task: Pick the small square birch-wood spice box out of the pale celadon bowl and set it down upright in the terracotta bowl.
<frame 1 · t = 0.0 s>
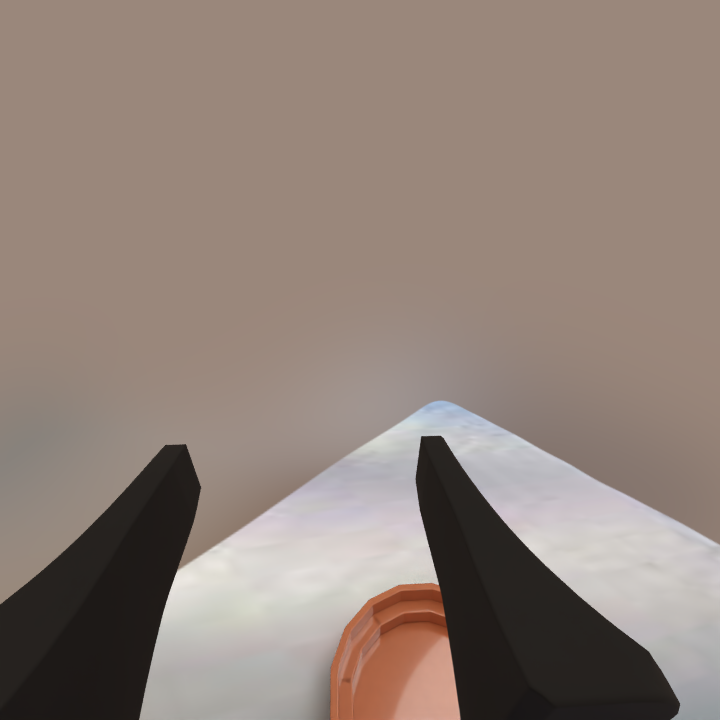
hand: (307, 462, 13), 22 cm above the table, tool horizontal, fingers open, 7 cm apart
terracotta bowl: (429, 707, 25), on the table
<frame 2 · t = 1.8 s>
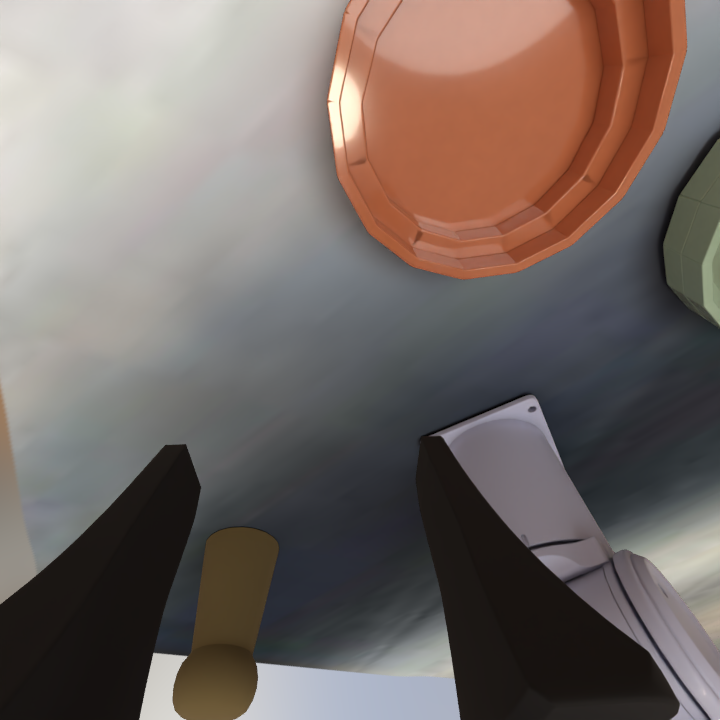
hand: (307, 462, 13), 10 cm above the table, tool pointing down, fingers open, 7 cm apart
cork: (243, 545, 34), on the table
terracotta bowl: (476, 111, 16), on the table
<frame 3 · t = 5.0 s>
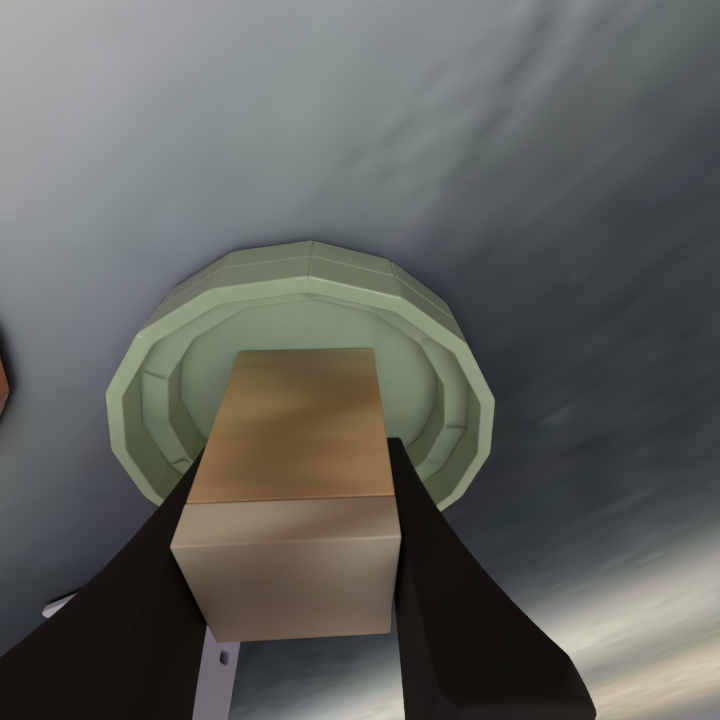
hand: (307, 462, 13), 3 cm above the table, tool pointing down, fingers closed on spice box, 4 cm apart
celadon bowl: (312, 392, 15), on the table
spice box: (310, 399, 15), resting on celadon bowl, touching gripper
when the fingers open (3 cm above the table, at t = 9.9 s): spice box stays where it is, resting on terracotta bowl.
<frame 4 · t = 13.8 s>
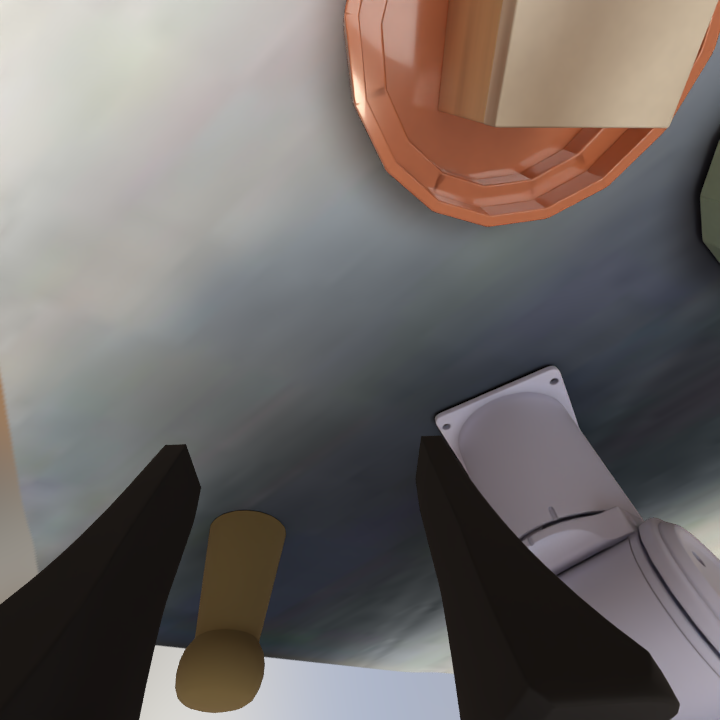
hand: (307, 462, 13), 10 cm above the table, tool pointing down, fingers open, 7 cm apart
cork: (248, 530, 32), on the table
terracotta bowl: (503, 41, 15), on the table
spice box: (506, 37, 15), resting on terracotta bowl
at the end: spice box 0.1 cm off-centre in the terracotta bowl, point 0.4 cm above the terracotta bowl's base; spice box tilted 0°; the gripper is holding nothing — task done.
